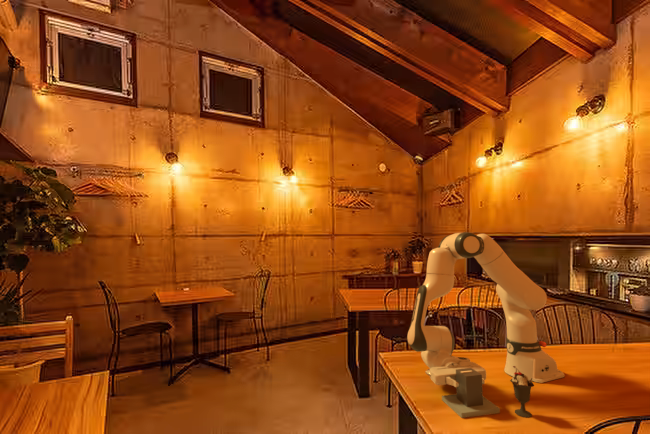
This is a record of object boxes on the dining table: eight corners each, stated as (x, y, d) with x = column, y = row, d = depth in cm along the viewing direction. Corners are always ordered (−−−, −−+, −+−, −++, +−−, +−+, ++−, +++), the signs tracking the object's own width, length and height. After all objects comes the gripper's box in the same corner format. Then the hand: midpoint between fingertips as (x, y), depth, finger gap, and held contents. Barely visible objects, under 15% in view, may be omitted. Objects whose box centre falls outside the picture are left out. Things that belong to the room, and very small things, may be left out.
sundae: (507, 409, 113) (505, 363, 114) (525, 407, 113) (523, 362, 114) (520, 419, 106) (517, 371, 107) (539, 418, 107) (537, 370, 108)
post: (477, 395, 122) (476, 372, 123) (499, 412, 110) (498, 387, 111) (442, 400, 120) (441, 376, 120) (461, 417, 108) (460, 391, 108)
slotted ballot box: (472, 396, 119) (470, 367, 119) (483, 405, 113) (481, 373, 113) (456, 398, 118) (455, 368, 118) (467, 407, 112) (465, 375, 112)
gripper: (422, 362, 126) (442, 377, 113) (471, 357, 130) (495, 371, 117) (423, 379, 126) (443, 396, 113) (472, 373, 130) (496, 389, 116)
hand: (470, 383), depth 115 cm, fingers open, 8 cm apart
